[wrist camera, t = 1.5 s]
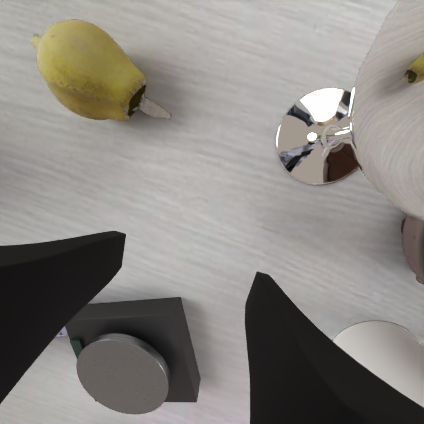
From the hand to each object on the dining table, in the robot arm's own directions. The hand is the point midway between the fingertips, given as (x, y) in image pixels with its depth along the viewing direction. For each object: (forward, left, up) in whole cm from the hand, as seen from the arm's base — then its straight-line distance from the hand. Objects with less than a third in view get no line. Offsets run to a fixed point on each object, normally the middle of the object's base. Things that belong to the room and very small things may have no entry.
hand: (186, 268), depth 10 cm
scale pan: (-11, -15, -6) cm, 19 cm away
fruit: (-5, +13, -10) cm, 17 cm away
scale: (-11, -14, -9) cm, 21 cm away
